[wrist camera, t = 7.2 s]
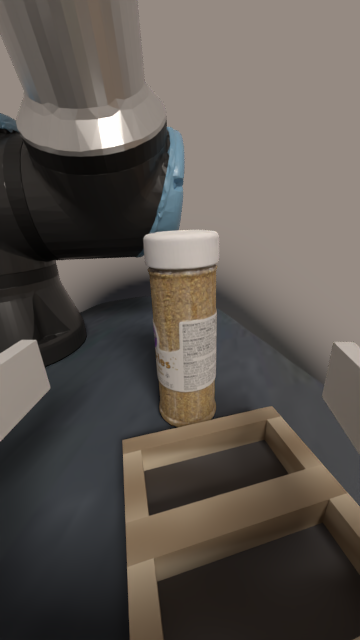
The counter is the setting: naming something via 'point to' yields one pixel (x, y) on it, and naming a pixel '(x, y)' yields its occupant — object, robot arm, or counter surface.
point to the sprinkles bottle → (184, 321)
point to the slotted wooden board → (238, 535)
